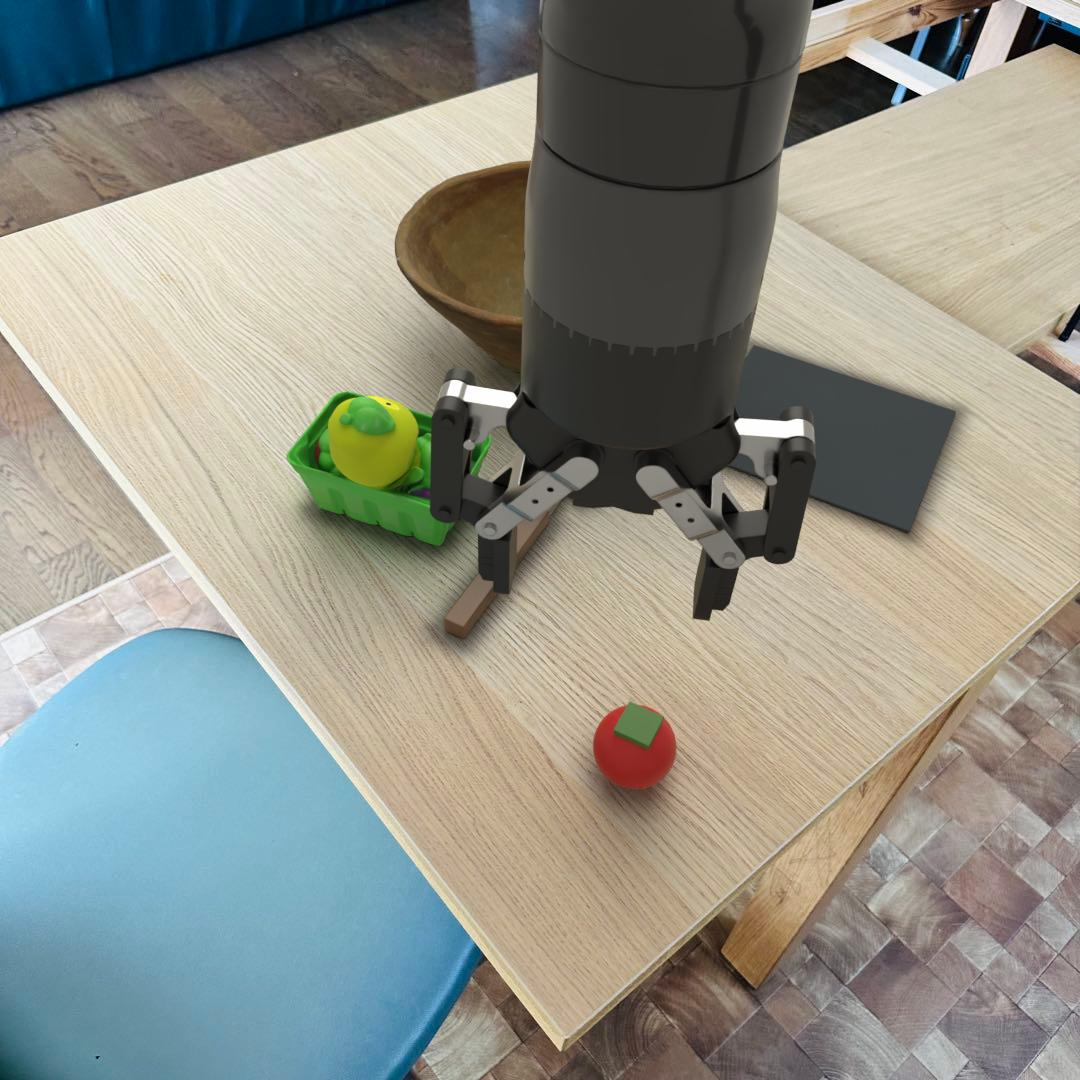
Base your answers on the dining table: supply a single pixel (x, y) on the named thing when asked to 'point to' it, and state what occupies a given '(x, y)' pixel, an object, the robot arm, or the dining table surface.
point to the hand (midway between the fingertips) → (603, 591)
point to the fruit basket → (374, 464)
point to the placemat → (850, 434)
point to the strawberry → (634, 746)
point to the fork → (482, 590)
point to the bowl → (472, 255)
